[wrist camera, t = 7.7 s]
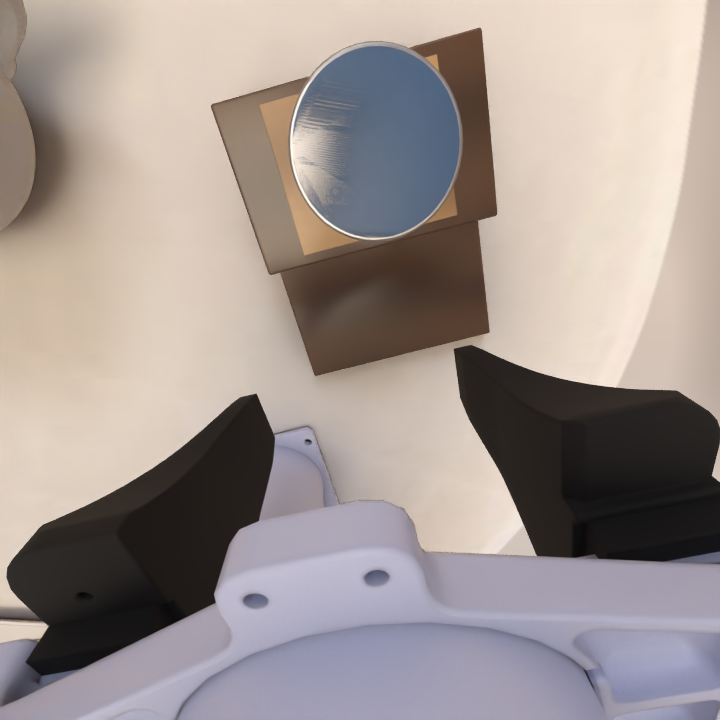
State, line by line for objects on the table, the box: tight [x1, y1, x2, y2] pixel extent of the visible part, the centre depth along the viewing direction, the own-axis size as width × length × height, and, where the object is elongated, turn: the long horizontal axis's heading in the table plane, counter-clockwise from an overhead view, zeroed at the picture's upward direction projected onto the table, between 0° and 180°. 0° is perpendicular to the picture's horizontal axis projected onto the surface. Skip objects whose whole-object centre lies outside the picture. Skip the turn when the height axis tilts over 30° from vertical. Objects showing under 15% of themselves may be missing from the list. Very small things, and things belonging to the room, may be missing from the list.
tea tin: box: [288, 41, 463, 242], centre depth 13 cm, size 5×5×6 cm
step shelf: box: [211, 28, 497, 376], centre depth 19 cm, size 14×11×4 cm
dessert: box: [0, 619, 49, 643], centre depth 32 cm, size 12×12×5 cm
